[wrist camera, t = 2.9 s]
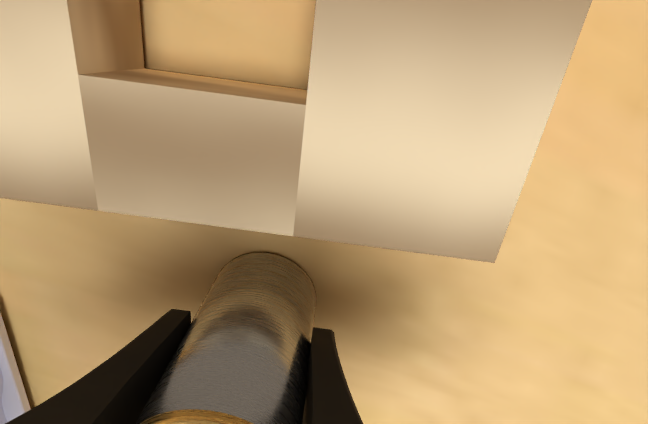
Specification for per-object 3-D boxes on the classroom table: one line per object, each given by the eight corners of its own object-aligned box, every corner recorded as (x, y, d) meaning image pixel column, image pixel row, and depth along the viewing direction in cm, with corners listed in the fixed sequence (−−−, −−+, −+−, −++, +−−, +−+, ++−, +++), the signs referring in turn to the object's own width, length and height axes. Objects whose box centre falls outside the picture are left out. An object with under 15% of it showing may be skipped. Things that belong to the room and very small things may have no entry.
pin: (310, 341, 15) (285, 557, 9) (214, 329, 15) (119, 536, 9) (321, 260, 13) (301, 452, 7) (214, 246, 13) (96, 425, 7)
